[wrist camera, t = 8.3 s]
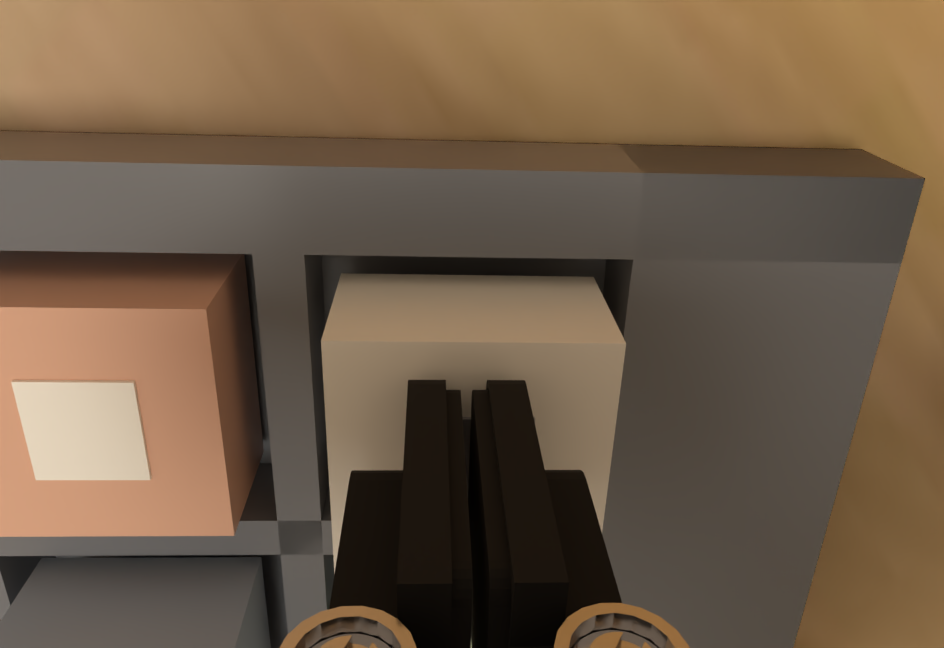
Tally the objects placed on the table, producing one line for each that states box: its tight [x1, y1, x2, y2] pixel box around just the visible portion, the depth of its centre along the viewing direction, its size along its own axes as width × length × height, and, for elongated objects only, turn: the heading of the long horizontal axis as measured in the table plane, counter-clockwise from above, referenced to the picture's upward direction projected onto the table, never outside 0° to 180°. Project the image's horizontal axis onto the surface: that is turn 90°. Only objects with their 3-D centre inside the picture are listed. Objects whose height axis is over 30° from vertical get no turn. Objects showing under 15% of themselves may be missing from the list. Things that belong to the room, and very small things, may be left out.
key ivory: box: [321, 273, 626, 574], centre depth 13 cm, size 4×4×3 cm
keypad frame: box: [0, 131, 925, 648], centre depth 15 cm, size 20×14×2 cm
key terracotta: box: [0, 251, 264, 537], centre depth 13 cm, size 4×4×3 cm
